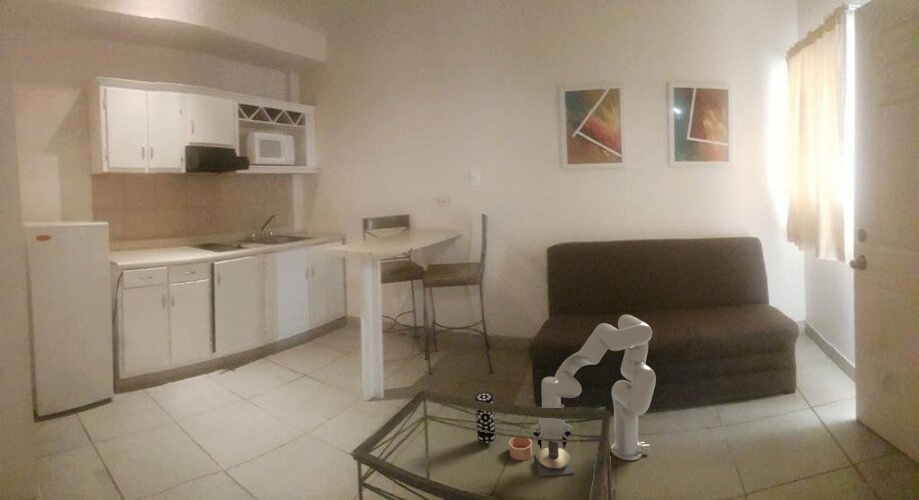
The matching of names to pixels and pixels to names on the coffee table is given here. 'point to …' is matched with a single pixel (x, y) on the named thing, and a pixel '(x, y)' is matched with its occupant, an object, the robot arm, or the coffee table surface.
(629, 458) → the robot arm
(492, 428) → the white-spotted black cylinder
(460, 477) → the coffee table surface
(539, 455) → the lid
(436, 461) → the coffee table surface
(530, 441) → the bowl
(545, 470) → the mat
